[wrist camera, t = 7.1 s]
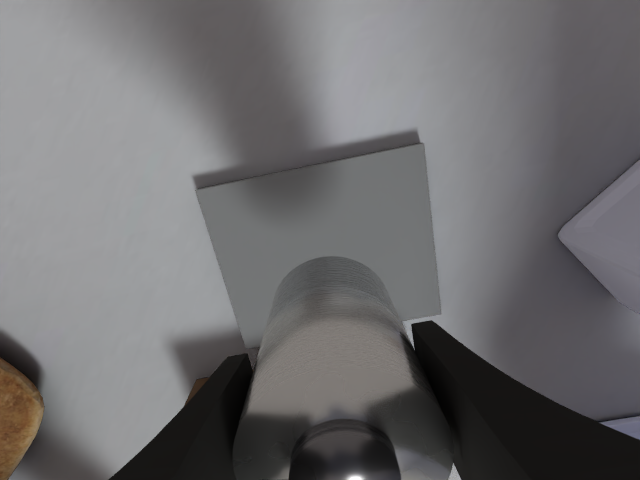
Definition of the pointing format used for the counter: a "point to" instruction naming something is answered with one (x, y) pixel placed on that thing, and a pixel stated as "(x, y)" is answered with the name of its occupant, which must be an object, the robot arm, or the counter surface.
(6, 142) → the counter surface
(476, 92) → the counter surface
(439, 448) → the grey round-capped cylinder
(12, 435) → the tan boot
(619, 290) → the soap bottle
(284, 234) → the rubber mat
